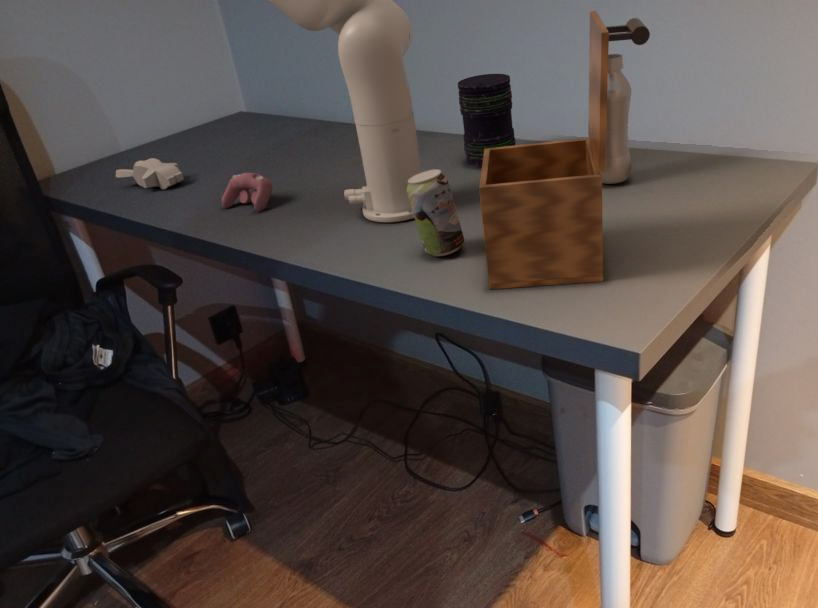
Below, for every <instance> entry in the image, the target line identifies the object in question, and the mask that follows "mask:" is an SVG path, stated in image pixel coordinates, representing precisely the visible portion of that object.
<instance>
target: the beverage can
mask: <svg viewBox="0 0 818 608" xmlns="http://www.w3.org/2000/svg"><path fill="white" fill-rule="evenodd" d="M407 194H408V197H409V201H410V204H411V207H412V210H413V214H414V217H415V218H414V220H415V223H416V226H417V230H418V233H419V236H420V240H421V243H422V246H423V250H424V252H425V253H426V254H428V255H430V256H433V257H445V256H448V255H451V254H453V253H455V252H457V251H458V250H459V249H460V248H461V247H462V245H463V244H464V242H465V237H464V233H463V229H462V225H461V223H460V219H459V215H458V212H457V207H456V205H455V200H454V197H453V194H452V189H451V187H450V183H449V180H448V177H447V176H446V175H444V174H443V173H442V170H441V169H437V168H436V169H428V170H424V171H422V172H421V173H418V174H416V175H414V176H412V177H410V178H409V179H408V187H407Z"/></svg>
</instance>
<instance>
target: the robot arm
mask: <svg viewBox="0 0 818 608" xmlns="http://www.w3.org/2000/svg"><path fill="white" fill-rule="evenodd" d="M266 2H268V3H269V4H271V5H272V6H273V7H274V8H276V10H279V11H280V12H281V13H282V14H284V15H285V16H286V17H287V18H289V19H290V20H292V22H294V23H295V24H296V25H298V26H299V27H301V28H302V29H305V30H307V31H311V32H320V31H323V30H326V29H328V28H329V29H331V30H332V31H333V32H335V34H337V35H339V36H338V43H337V52H338V53H337V54H338V59H339V64H340V67H341V71H342V73H343V78H344V80H345V84H346V87H347V91H348V94H349V95H348V96H349V99H350V105H351V109H352V114H353V120H354V123H355V124H354V125H355V128H356V134H357V139H358V140H357V141H358V144H359V150H360V155H361V161H362V166H363V172H364V176H365V182H366V185H364V186H362V187H361V188H350V189H349V188H348V189H344V191H343V193H344V200H345V201H346V202H348V204H349V205H355V204H363V205H362V209H361V210H362V214H363V217H364V218H365V219H366V220H369V221H372V222H375V223H398V222H405V221H408V220H413V219H415V217H414V214H413V210H412V207H411V204H410V201H409V197H408V194H407V187H408V179H409V178H410V177H412V176H414V175H416V174H418V173H421V172H423V169H422V162H421V155H420V149H419V148H420V147H419V141H418V134H417V127H416V120H415V114H414V110H413V109H414V108H413V101H412V96H411V95H412V94H411V91H410V84H409V80H408V76H407V72H406V67H405V62H404V61H405V60H404V56H405V55H406V54H407V52H408V50H409V49H410V46H411V43H412V40H413V39H412V38H413V30H412V25H411V21H410V19H409V17H408V15H407V14H406V13H405V11H404V10H403V9H402V7H400V6H399V5H398V4H397V3H396V2H394V0H266Z"/></svg>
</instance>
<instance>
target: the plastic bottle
mask: <svg viewBox="0 0 818 608" xmlns="http://www.w3.org/2000/svg"><path fill="white" fill-rule="evenodd" d="M623 58H624V57H623V55H622V54H620V53H611V54H609V53H608V86H607V125H606V163H605V172H601V175H602V184H608V185H609V184H611V185H613V184H620V183H623V182H625V181H627V180H628V179H629V177H630V175H631V174H632V173H631V172H632V168H633V165H632V156H631V153H630V145H629V133H628V132H629V115H630V106H631V101H632V100H631V99H632V87H631V83H630V82H629V80H628V78H627V77H626V76H625V75H624V73H623V72H622V70H623V69H624V64H623V63H624V62H623V61H624V59H623Z"/></svg>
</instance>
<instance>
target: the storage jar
mask: <svg viewBox="0 0 818 608" xmlns="http://www.w3.org/2000/svg"><path fill="white" fill-rule="evenodd" d="M457 89H458V103H459V112H460V115H461V116H462V125H463V132H464V133H463V150H464V152H465V154H464V155H465V156H466V159H465V163H466V165H467V166H468V167H470V168H475V169H482V163H483V156H484V149H486V148H496V147H505V146H515V145H517V144H516V137H515V129H514V127H513V116H512V109H513V99H512V98H513V92H512V86H511V76H510V75H509V74H505V73H484V74H477V75H473V76H469V77H466V78H464V79H461V80H459V81H458V82H457Z"/></svg>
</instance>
